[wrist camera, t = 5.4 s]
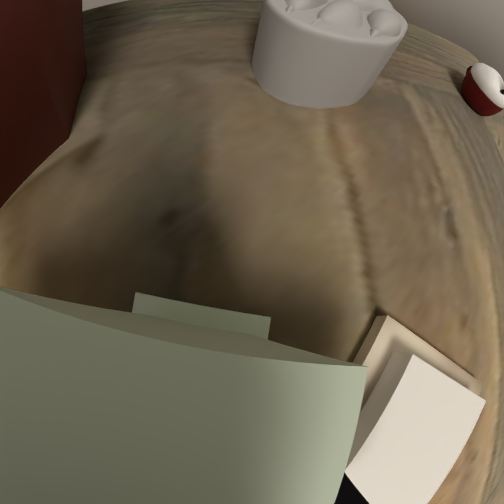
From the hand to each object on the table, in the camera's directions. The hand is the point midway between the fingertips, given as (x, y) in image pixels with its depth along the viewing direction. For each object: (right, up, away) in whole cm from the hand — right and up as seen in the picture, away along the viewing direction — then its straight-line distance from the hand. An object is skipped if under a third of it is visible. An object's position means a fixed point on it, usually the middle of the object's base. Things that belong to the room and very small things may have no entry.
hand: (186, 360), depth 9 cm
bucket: (-19, +15, +8) cm, 25 cm away
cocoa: (+30, +22, +16) cm, 41 cm away
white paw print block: (+7, +20, +13) cm, 25 cm away
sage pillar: (-1, -3, +6) cm, 7 cm away
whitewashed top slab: (+12, -9, +5) cm, 15 cm away
